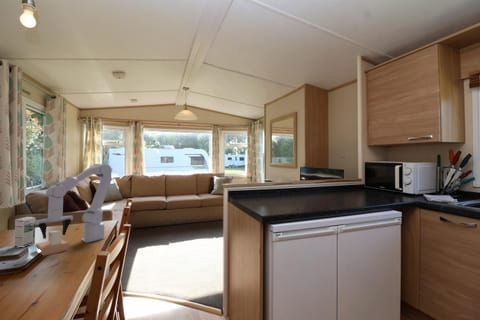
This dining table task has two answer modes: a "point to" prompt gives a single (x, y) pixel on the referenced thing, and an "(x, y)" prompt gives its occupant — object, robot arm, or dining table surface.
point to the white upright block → (55, 237)
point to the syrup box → (24, 231)
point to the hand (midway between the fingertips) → (54, 236)
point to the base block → (52, 247)
